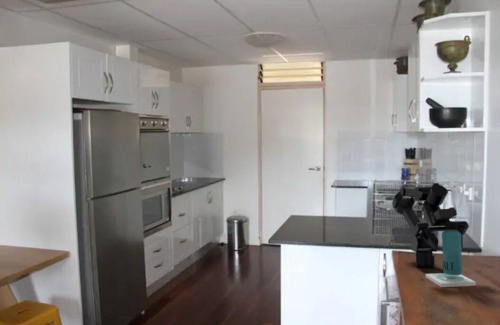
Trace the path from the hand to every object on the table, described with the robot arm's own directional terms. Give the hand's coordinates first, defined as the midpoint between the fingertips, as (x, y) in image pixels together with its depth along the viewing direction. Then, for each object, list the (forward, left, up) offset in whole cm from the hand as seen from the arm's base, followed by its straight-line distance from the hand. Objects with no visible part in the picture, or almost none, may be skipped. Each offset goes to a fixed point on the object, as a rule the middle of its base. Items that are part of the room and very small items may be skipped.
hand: (449, 248), depth 151 cm
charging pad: (0, 0, -12) cm, 12 cm away
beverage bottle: (+1, +1, -11) cm, 11 cm away
